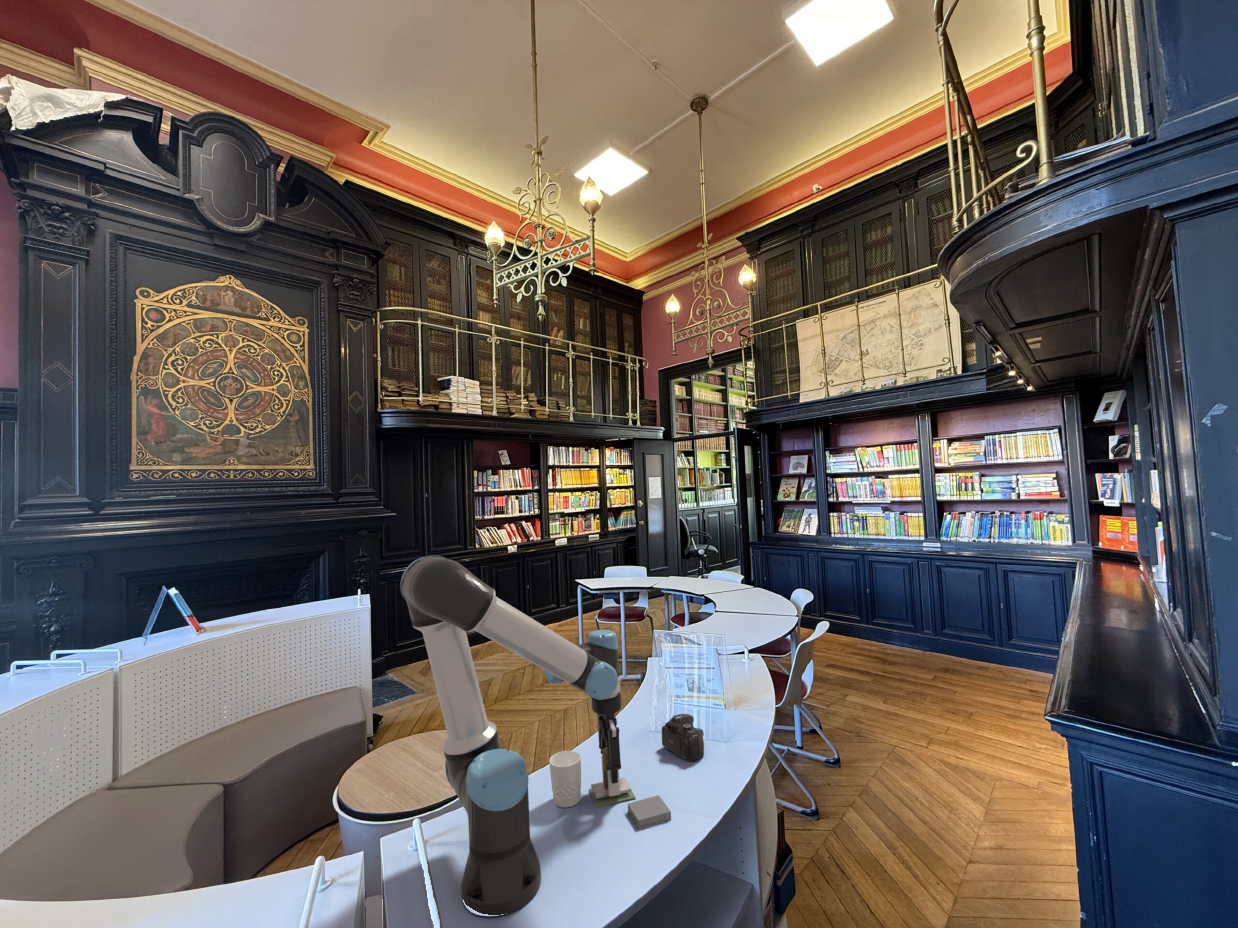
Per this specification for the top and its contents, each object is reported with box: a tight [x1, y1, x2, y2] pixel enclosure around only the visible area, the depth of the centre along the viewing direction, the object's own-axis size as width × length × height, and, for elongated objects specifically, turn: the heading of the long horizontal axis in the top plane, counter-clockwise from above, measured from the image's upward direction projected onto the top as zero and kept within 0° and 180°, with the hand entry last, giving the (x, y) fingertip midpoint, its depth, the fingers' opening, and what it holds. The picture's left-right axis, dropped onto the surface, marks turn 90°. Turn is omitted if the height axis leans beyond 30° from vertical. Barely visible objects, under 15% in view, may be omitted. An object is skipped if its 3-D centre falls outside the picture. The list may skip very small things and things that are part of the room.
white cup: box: [548, 750, 582, 809], centre depth 127 cm, size 8×8×10 cm
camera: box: [661, 713, 705, 762], centre depth 148 cm, size 13×10×10 cm
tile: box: [627, 794, 672, 829], centre depth 118 cm, size 8×2×7 cm
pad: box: [588, 787, 636, 809], centre depth 128 cm, size 10×8×1 cm
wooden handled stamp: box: [590, 747, 632, 799], centre depth 128 cm, size 9×6×10 cm, turn 106°
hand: (611, 787), depth 128 cm, fingers closed on wooden handled stamp, 5 cm apart
